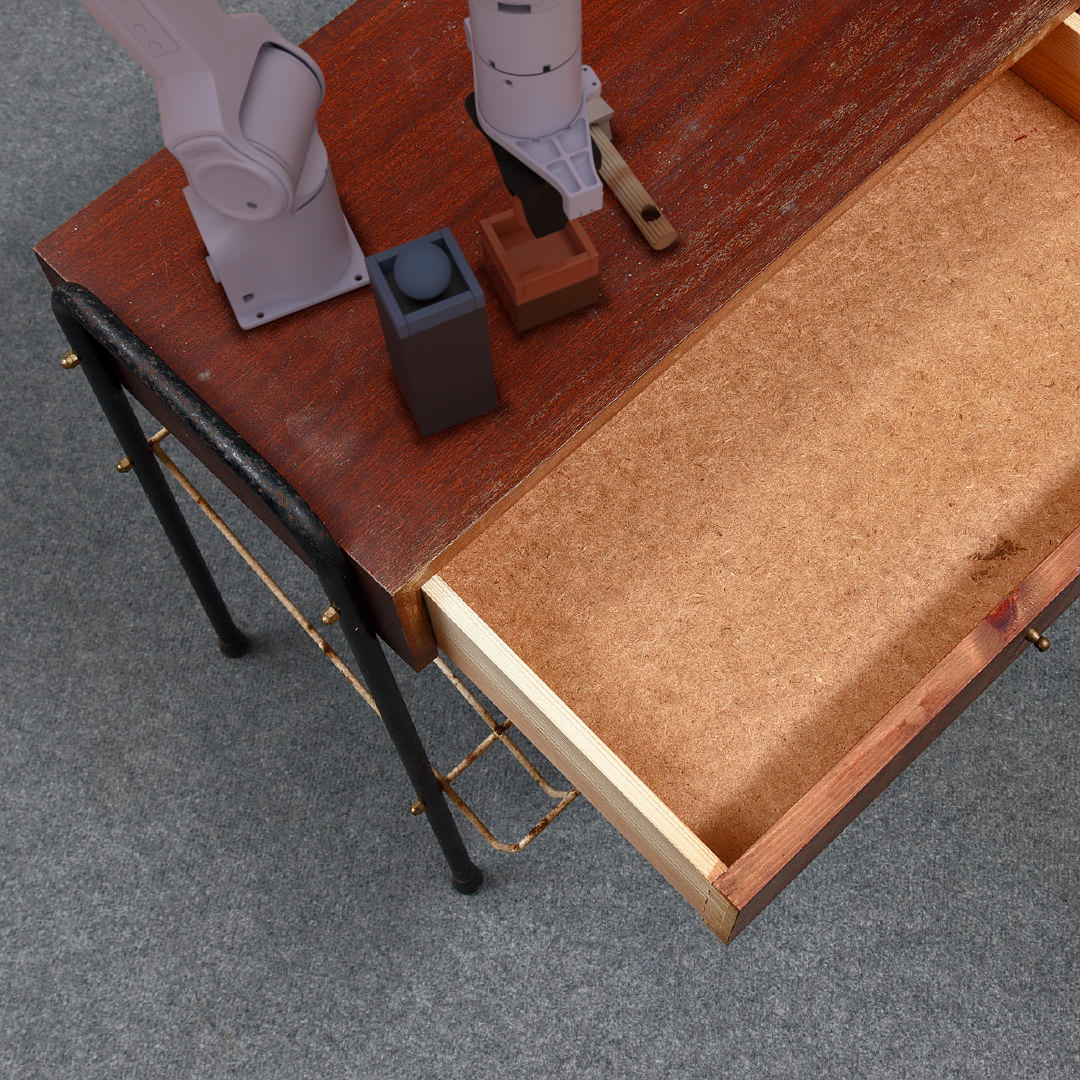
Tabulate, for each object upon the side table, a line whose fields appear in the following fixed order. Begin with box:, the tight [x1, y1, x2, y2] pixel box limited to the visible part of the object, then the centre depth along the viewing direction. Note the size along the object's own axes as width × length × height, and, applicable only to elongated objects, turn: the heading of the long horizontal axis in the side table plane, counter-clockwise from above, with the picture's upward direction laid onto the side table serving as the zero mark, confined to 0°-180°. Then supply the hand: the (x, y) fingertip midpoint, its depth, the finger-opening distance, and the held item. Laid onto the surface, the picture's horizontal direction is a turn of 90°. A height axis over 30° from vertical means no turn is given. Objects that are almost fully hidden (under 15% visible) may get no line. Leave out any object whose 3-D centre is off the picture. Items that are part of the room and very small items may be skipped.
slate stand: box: [364, 226, 499, 439], centre depth 76 cm, size 5×5×12 cm
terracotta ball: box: [511, 195, 532, 232], centre depth 78 cm, size 3×3×3 cm
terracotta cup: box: [478, 208, 600, 333], centre depth 83 cm, size 6×6×5 cm
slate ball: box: [394, 242, 451, 300], centre depth 70 cm, size 3×3×3 cm
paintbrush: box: [587, 95, 678, 251], centre depth 89 cm, size 4×3×20 cm
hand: (537, 209), depth 78 cm, fingers closed on terracotta ball, 3 cm apart
